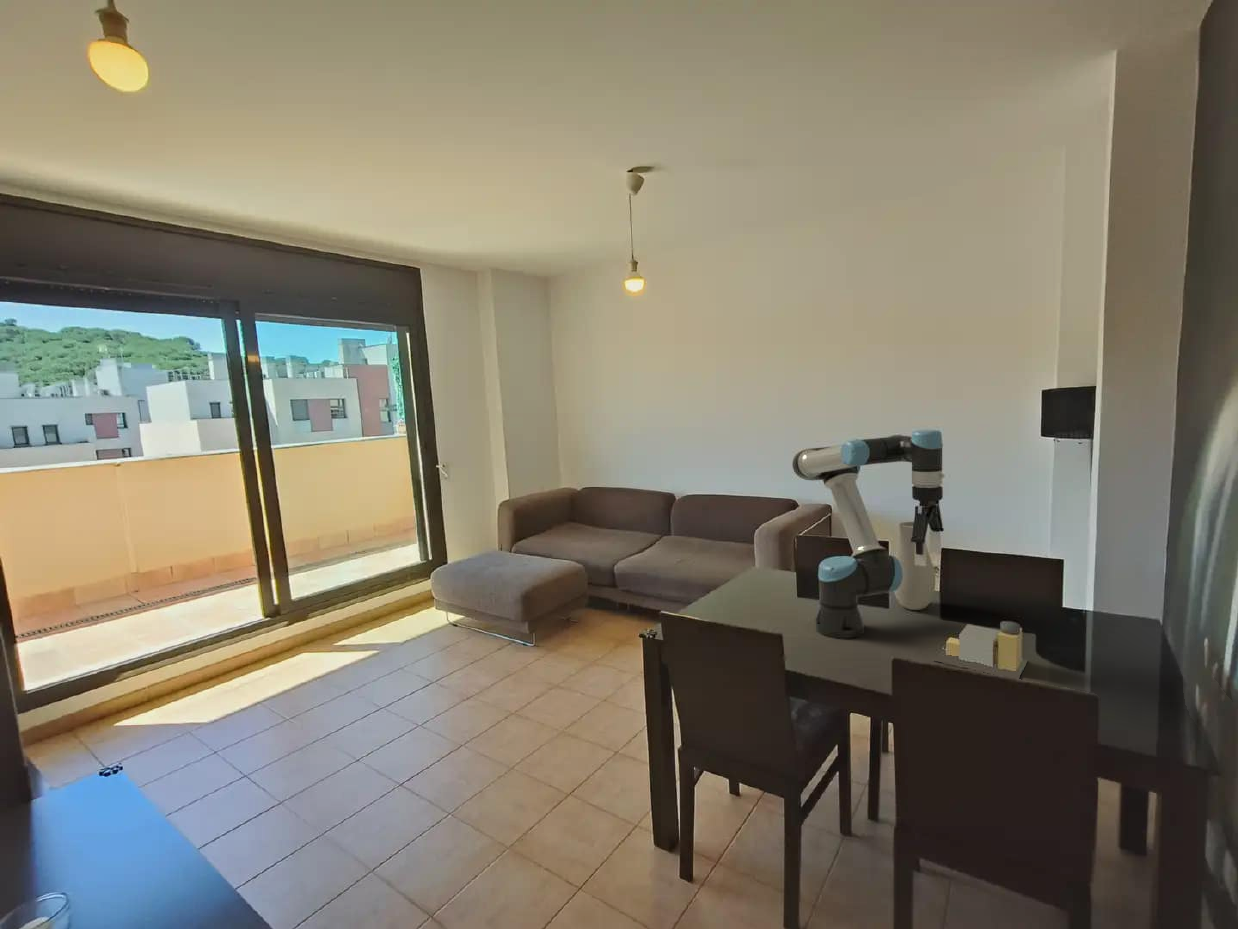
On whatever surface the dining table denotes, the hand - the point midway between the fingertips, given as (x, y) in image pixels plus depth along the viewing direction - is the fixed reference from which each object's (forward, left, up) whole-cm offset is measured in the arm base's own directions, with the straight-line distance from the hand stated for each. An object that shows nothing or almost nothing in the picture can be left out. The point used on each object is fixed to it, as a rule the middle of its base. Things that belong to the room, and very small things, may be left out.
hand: (927, 559), depth 163 cm
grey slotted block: (+12, +4, -28) cm, 31 cm away
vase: (-15, +36, -29) cm, 49 cm away
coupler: (+12, +4, -29) cm, 31 cm away
